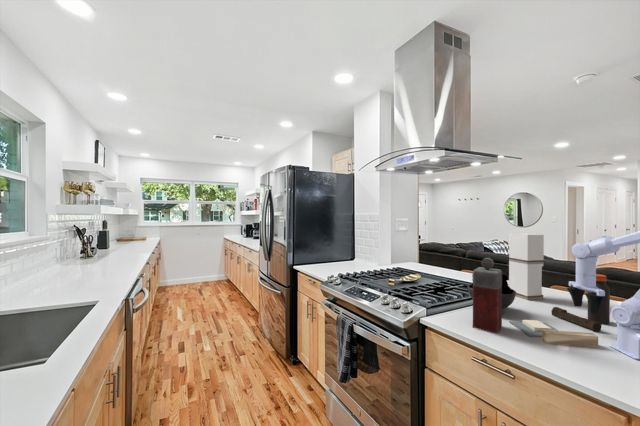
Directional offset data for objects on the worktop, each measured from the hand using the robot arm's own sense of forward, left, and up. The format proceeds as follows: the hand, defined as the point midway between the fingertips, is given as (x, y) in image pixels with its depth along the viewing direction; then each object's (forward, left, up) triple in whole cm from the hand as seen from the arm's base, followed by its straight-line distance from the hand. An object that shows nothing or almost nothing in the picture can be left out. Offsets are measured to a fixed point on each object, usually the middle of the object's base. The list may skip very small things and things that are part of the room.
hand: (585, 309), depth 109 cm
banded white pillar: (+51, -7, -10) cm, 52 cm away
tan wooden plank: (-10, +12, -10) cm, 18 cm away
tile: (-2, +16, -8) cm, 18 cm away
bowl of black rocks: (+25, +23, -10) cm, 35 cm away
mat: (+2, +16, -9) cm, 19 cm away
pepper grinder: (+3, +34, -10) cm, 35 cm away
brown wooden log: (+12, -4, -10) cm, 16 cm away
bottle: (+15, -16, -10) cm, 24 cm away
